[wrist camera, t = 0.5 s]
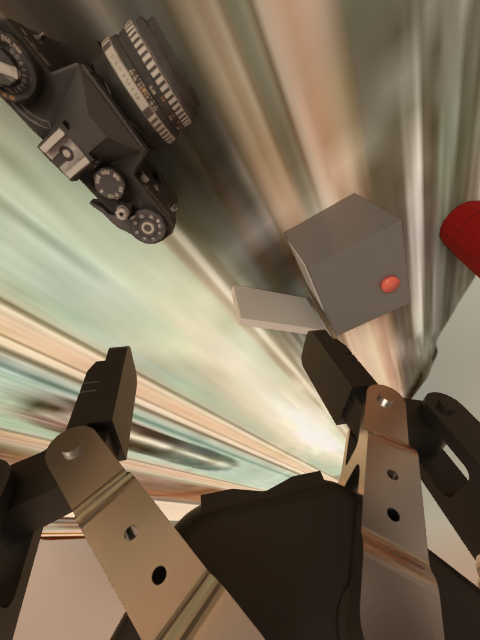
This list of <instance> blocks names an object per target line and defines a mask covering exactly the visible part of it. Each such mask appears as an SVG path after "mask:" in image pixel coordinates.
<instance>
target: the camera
mask: <svg viewBox="0 0 480 640" xmlns="http://www.w3.org/2000/svg"><path fill="white" fill-rule="evenodd" d="M123 27H124V28H123V29H122V31H121V32H120V34H119V35H117V34H115V35H114V36H112V37H111V38H110V37H109V36H107V37H106V38H105V39H104V41H103V42H102V43H101V42H100V41H97V42H98V44H99V45H100V47H101V48H100V49H99V50H98V51H97V52H96V53H94V55H93V56H92V57H91V61H92V65H84V64H80V63H75V62H74V61H73V59H72V58H71V57H70V55H69V54H68V53H67V51H66V50H65V49H64V47H63V46H62V45H61V43H60V42H57V41H55V40H52V39H49V38H48V37H46V36H45V34H44V32H42V33H40V34H39V33H36V32H34V31H32V30H30V29H28V28H26V27H25V26H23V25H22V24H19V23H17V22H15V21H13V20H11V19H9V18H6V17H0V97H2V99H3V100H4V101H5V102H6V103H7V104H8V105H9V106H10V107H11V108H12V109H13V110H14V111H15V112H16V113H17V114H18V115H19V116H20V117H21V118H22V120H23V121H24V122H25V123H26V124H27V125H28V126H29V127H30V128H31V129H32V130H33V131H34V132H35V133H36V134H37V135H38V136H39V137H41V138H42V139H43V140H42V142H41V143H40V144H39V145H38V148H39V149H40V150H41V151H42V153H43V154H44V155H45V156H46V157H47V158H48V159H49V160H50V161H51V162H52V163H53V164H54V165H55V166H56V167H57V168H58V169H59V170H60V171H61V172H63V173H64V174H65V175H66V176H67V177H68V178H69V180H70V181H77V180H78V179H80V180H81V181H82V182H83V183H84V184H85V185H86V187H87V188H88V189H89V190H90V191H91V192H92V193H93V194H94V195H95V196H96V197H97V198H98V199H92V201H91V202H90V204H91V205H92V206H93V207H95V208H96V209H98V210H99V211H101V212H102V213H103V214H104V215H105V216H106V217H107V218H108V219H109V220H110V221H111V222H112V223H113V224H115V225H116V226H117V227H118V228H120V229H122V230H124V231H126V232H128V233H130V234H132V235H133V236H134V237H135V238H136V239H138V240H139V241H141V242H144V243H147V244H155V243H158V242H160V241H162V240H164V239H165V238H166V237H168V236H169V235H170V234H172V233H173V230H174V228H175V222H176V217H175V211H176V210H177V207H176V202H177V199H176V197H175V196H174V195H173V193H172V192H171V191H170V189H169V188H168V187H167V185H166V184H165V183H164V181H163V175H162V174H161V172H160V171H159V170H157V171H155V169H154V168H153V167H152V165H151V164H150V163H149V161H148V160H147V158H146V156H147V155H148V153H149V152H150V151H151V149H154V150H156V151H159V150H160V149H162V148H163V147H164V146H165V145H167V144H171V143H172V142H174V141H175V139H176V136H177V135H178V134H179V131H181V130H182V129H183V128H184V127H187V126H188V125H190V124H191V120H192V119H193V118H194V117H195V116H196V115H197V113H196V108H197V107H198V106H199V105H200V102H199V99H198V97H197V95H196V94H195V91H194V89H193V87H192V85H191V83H190V82H189V80H188V78H187V76H186V74H185V72H184V71H183V69H182V67H181V65H180V63H179V61H178V60H177V58H176V56H175V54H174V52H173V50H172V49H171V47H170V45H169V43H168V41H167V40H166V38H165V36H164V35H163V33H162V31H161V29H160V27H159V25H158V23H157V22H156V20H155V18H154V17H153V16H152V17H151V18H150V19H149V20H148V21H147V20H145V19H144V18H143V17H141V16H140V17H139V18H138V19H137V20H136V21H135V22H134V23H133V22H132V21H131V20H129V21H128V22H127V23H126V24H125V25H124V26H123Z"/></svg>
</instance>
